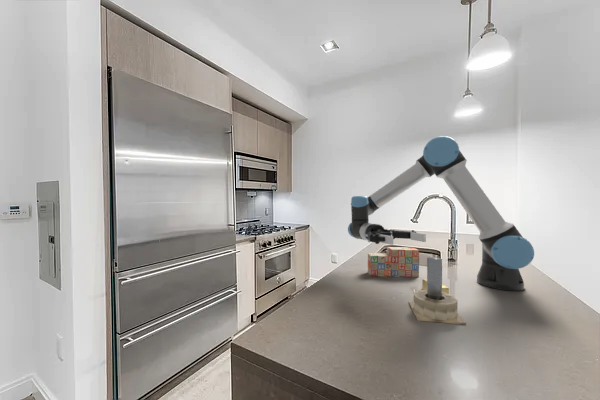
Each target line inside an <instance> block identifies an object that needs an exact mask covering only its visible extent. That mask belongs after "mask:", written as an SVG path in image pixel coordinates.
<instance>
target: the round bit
mask: <svg viewBox="0 0 600 400" xmlns="http://www.w3.org/2000/svg"><path fill="white" fill-rule="evenodd" d="M426 266H427V267H426V279H427V298H430V299H434V300H442V284H443V259H442V258H441V257H434V256H427V258H426Z"/></svg>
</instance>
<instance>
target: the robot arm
mask: <svg viewBox="0 0 600 400" xmlns="http://www.w3.org/2000/svg"><path fill="white" fill-rule="evenodd" d="M467 161H468V160H467V159H466V157H465V156H464V155H463V153H462V152H461V150H460V146H459V144H458V143H457V141H456V140H455V139H454V138H452V137H450V136H446V135H440V136H436V137H434V138H431V139H430V140H429V141H428V142H427V143H426V144H425V146H424V148H423V153H422V155H421V156H420V157H419V158H418V159H416V160H415V163H414V164H413V165H412V166H410V167H409V168H407V169H406V170H405V171H403V172H402V173H400V174H399V175H398V176H396V177H395V178H393V179H391V180H390V181H389V182H388V183H386V184H385V185H383V186H381V188H379V189H377V190H376V191H375V192H373V193H372V194H370V195H369V196H367V195H353V196H352V197H351V200H350V202H351V203H350V206H351V207H350V208H351V222H350V223H349V224H348V227H347V232H348V235H349V236H351V237H352V238H355V239H356V240H363V241H367V242H368V243H370V242H371V243H375V244H376V245H379V244H380V243H383V244H387V245H391V246H393V245H394V240H395V239H409V240H411V241H417V242H422V243H423V242H424V243H426V242H427V234H426V233H420V232H417V231H415V230H414V229H412V230H411V231H410V230H409V231H407V230H396V229H387V228H385V227H384V226H382V225H381V224H378V223H370V222H369V216H371V215H373V214H374V213H375V212H376V211H377V210H379V209H380V208H382V207H383V206H385V205H386V204H387V203H389V202H390V201H392V200H394V199H395V198H397V197H398V196H399V195H401V194H402V193H404V192H406V191H407V190H409V189H410V188H412V187H413V186H414V185H416V184H418V183H419V182H420V181H423V179H425V178H430V177H432V176H434V175H435V177H436V178H438V179H442V180H443V181H444V182H445V184H446V185H447V186H448V188H449V189H450V191H451V192H452V193H453V195H454V197H456V200H457V201H458V202H459V203H460V205H461V207H462V208H463V209H464V211H465V213H466V215H468V217H469V218H470V220H471V221H472V223H473V224H474V225H475V227H476V228H477V231H479V235H478V236H479V237H478V239H479V241H480V242H481V243H482V244H481V245H482V247H481V255H482V256H481V265H480V268H479V270H478V273H477V275H476V282H477V283H478V284H480V285H482V286H484V287H488V288H492V289H496V290H503V291H511V292H512V291H513V292H514V291H515V292H516V291H523V290H524V289H525V282H524V281H525V280H523V276H522V274H521V272H520V269H522V268H525V267H527V266H528V265H530V264H531V263H532V261H533V260H534V257H535V249H534V247H533V245H532V243H531V242H530V241H528V240H527V238H525V237H523V236H522V234H521V233H520V231H519V230H518V229H517V227H516V226H515V224H514V223H511V222H508V221H505V219H504V218H503V216H502V215H501V213H500V212H499V211H498V209H497V207H496V206H495V205H494V204H493V202H492V201H491V199H489V197H488V196H487V194H486V193H485V192H484V190H483V189H482V187H481V186H480V184H479V183H478V181H476V179H475V178H474V176H473V175H472V173H471V172H470V171H469V169H468V168H467V166H466V164H467Z"/></svg>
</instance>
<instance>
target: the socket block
mask: <svg viewBox="0 0 600 400" xmlns="http://www.w3.org/2000/svg"><path fill="white" fill-rule="evenodd" d="M408 304H409V306H410V309H411V310H412V312H413V314H414V316H415V318H416V319H417V321H419V322H420V321H421V322H432V323H441V324H442V323H443V324H453V325H463V326H467V322H466V321H465V320H464V319H463V318H462V316H460V315H459V313H458V299H457V298H456V297H455V296H454V295H451V294H450V293H449V294H447V293H444V292H442V300H434V299H430V298H427V290H423V289H419V290H416V291H415V292H413V301H408Z"/></svg>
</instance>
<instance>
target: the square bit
mask: <svg viewBox="0 0 600 400" xmlns="http://www.w3.org/2000/svg"><path fill="white" fill-rule="evenodd" d="M421 290H427V278H422V288H421ZM442 292H444V293H447V294H449V295H450V288H449V287H448V286H447V285H445V284H443V283H442Z"/></svg>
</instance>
